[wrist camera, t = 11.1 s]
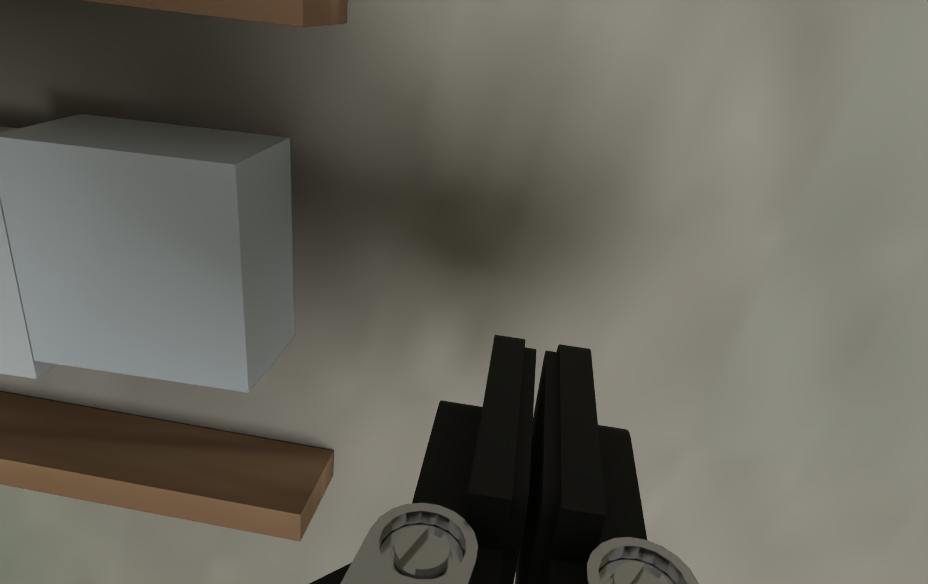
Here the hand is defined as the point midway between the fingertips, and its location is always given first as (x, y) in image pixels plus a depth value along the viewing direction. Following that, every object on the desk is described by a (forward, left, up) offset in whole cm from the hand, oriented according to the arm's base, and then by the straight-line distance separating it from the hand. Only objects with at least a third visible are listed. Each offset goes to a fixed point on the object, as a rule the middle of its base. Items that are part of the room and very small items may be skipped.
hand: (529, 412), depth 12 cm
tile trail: (+1, -10, -7) cm, 13 cm away
